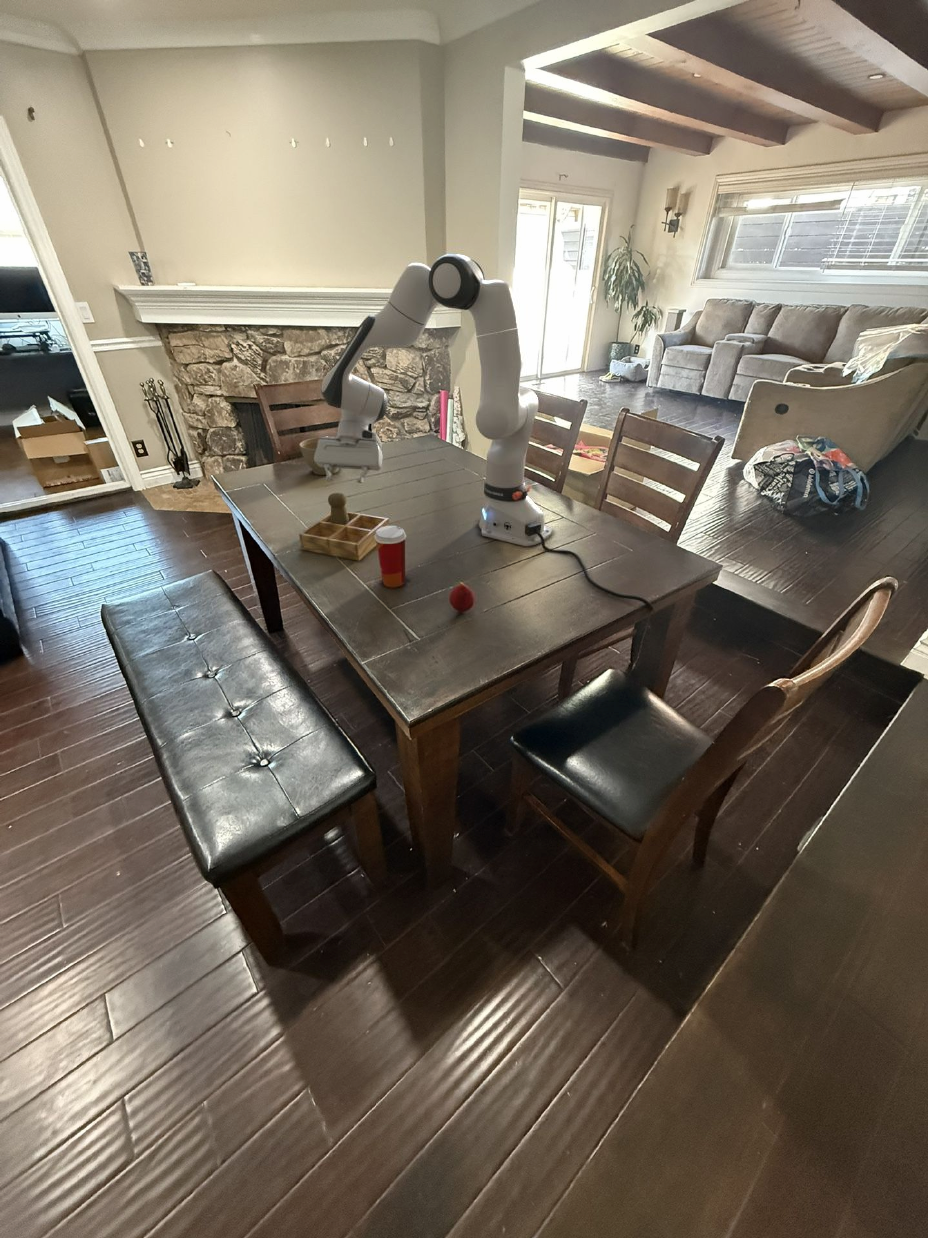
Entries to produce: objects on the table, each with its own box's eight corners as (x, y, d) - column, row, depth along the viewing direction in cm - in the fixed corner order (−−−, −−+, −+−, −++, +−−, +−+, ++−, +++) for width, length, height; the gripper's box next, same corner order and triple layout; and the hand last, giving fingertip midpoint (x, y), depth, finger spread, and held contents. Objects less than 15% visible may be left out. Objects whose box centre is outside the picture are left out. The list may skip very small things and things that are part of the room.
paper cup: (394, 571, 135) (390, 521, 127) (415, 580, 131) (412, 530, 123) (372, 582, 130) (366, 532, 122) (393, 593, 126) (389, 541, 118)
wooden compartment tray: (389, 533, 153) (388, 518, 151) (359, 560, 139) (357, 544, 137) (336, 523, 159) (334, 509, 156) (301, 549, 144) (298, 534, 142)
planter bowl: (355, 469, 199) (352, 440, 193) (326, 481, 188) (321, 451, 182) (325, 461, 206) (321, 434, 200) (295, 473, 195) (290, 444, 189)
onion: (473, 605, 122) (474, 576, 117) (475, 618, 117) (475, 589, 113) (449, 605, 122) (449, 576, 117) (449, 619, 117) (449, 589, 112)
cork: (349, 533, 150) (344, 498, 144) (329, 533, 151) (323, 498, 144) (353, 525, 155) (349, 490, 149) (333, 524, 155) (328, 490, 149)
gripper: (314, 430, 151) (306, 473, 149) (381, 434, 149) (374, 478, 146) (323, 441, 158) (315, 483, 155) (387, 445, 155) (380, 487, 152)
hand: (344, 481), depth 151 cm, fingers open, 8 cm apart
